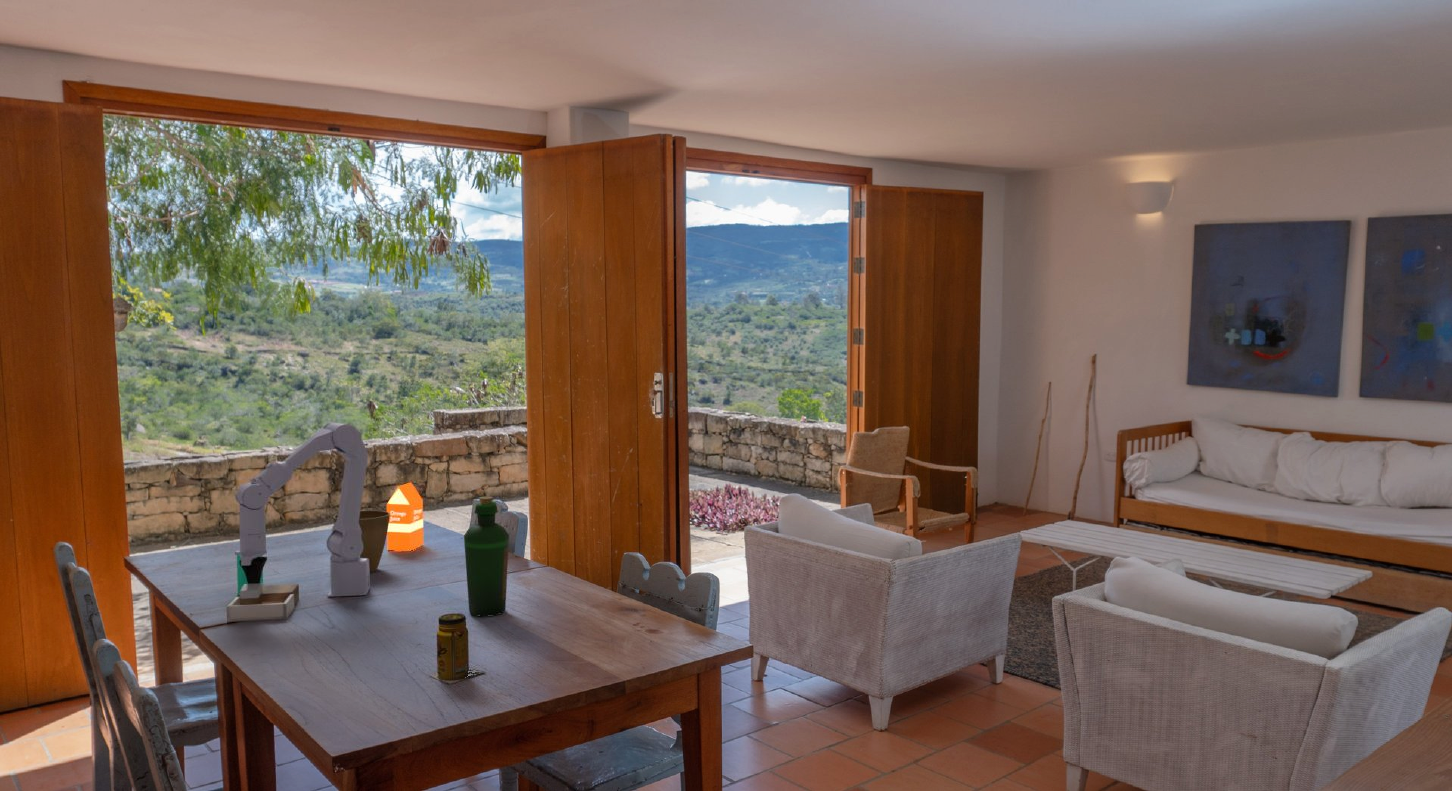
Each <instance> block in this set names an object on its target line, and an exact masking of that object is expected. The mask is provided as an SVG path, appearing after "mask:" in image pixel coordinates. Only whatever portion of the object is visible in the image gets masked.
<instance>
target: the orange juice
mask: <svg viewBox="0 0 1452 791" xmlns="http://www.w3.org/2000/svg"><path fill="white" fill-rule="evenodd" d="M423 501H424V499H423V498H422V497H421V495H420V494H419V492H418V490H417V489H416V488H415V486H414V485H413V482H411V481H410V482H407V483H404V484H400V485H398V486H397V488H396V489H395V491H394V493H393V494H392V495H391V497H390V499H389V500H388V502H386V512H389V513H390V517H389V525H388V531H387V536H386V542H387V543H386V544H387V545H386V546H387V550H394V551H393V552H401V551H411V550H413V551H415V550H417V549H416V548H417V547H420V546H421V545H423V546H424V506H423V504H424V503H423ZM420 548H421V547H420ZM414 549H415V550H414ZM411 552H412V551H411Z"/></svg>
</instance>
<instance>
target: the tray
mask: <svg viewBox="0 0 1452 791" xmlns="http://www.w3.org/2000/svg"><path fill="white" fill-rule="evenodd" d="M294 610H295V606H294V594H290V596H289V597H288V598H287V599H286V601H285V602H284V603H274V604H253V605H240V597H239V596H235V597H234V599H233V600H231V601H230V603H229V604H228V605H227V606H226V622H227V623H233V622H251V621H269V620H270V621H271V620H287V619H288V618H289V617H290V615H291V614H292V612H293V611H294Z"/></svg>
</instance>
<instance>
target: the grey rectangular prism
mask: <svg viewBox="0 0 1452 791" xmlns="http://www.w3.org/2000/svg"><path fill="white" fill-rule="evenodd" d="M262 591H263V588H262V583H259V584H244V586H243V587H242V589H241V590H240V599H245V598H259V596H260V595H261V593H262Z"/></svg>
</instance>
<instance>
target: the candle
mask: <svg viewBox="0 0 1452 791" xmlns="http://www.w3.org/2000/svg"><path fill="white" fill-rule="evenodd" d="M259 557H263V555H262V556H259ZM240 560H241V557H240V555H236V575H237V576H236V580H237V595H238V596H239V594H240V590H241V589H242V587H243V586H244V584H248V583H247V579H246V575H245V573H244V571H243V569H242V567H241V566H240V563H239V561H240ZM260 583H262V586H264V571H262V575H261V580H260Z"/></svg>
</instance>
